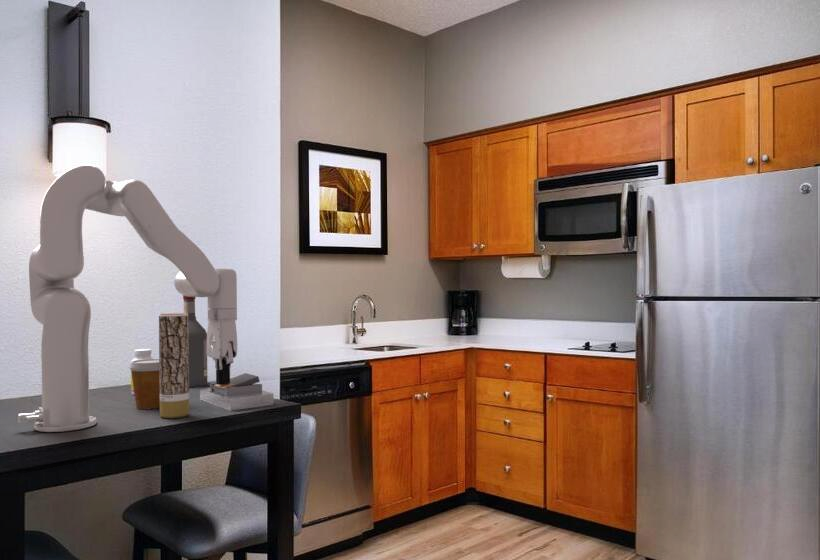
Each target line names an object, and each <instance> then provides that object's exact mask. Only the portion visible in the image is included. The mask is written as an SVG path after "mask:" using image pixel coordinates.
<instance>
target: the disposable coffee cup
mask: <svg viewBox="0 0 820 560" xmlns="http://www.w3.org/2000/svg"><path fill="white" fill-rule="evenodd" d="M131 361H132V360H131ZM131 361H130V365H129V370H130V374H131V373H132V381H133V387H134V394H135V395H134V401H135V407H136V409H138V410H151V408H153V409H157V408H158V407H159V408H160V385H159V358H153V359H144V360H135V361H132V362H131Z"/></svg>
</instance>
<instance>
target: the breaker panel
mask: <svg viewBox="0 0 820 560" xmlns="http://www.w3.org/2000/svg"><path fill="white" fill-rule="evenodd" d="M215 384H216V382H210V383H209V387H204V388H199V400H200V401H202V400H203V402H205V403H207V404H211V405H214V406H216V407H218V408H220V409H221V408H222V409H225V410H227V411H230V412H231V411H238V410H246V409H253V408H260V407H268V406H273V405H274V393H273V392H270V391H266V390H263V384H262V383H255V384H252V385H244V386H235V387H227V388H225V395H224V394H221V393H218V392H215V391H213V388H212V385H215Z"/></svg>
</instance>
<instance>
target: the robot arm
mask: <svg viewBox="0 0 820 560" xmlns="http://www.w3.org/2000/svg"><path fill="white" fill-rule="evenodd" d="M85 210H89V211H92V212H96V213H101V214H104V215H111V216H116V217H125V219H127V221H128V222H129V224H130V225H131V226H132V228H133V229H134V231H135V232H136V233H137V234H138V236H139V237H140V239H141V240H142V241H143V242H144V244H145V245H146V247H147V248H149V249H150V250H151V251H153V252H154V253H156V254H158V255H160V256H162V257H164V258H165V259H167V260H168V261H169V262H171V263H172V264H173V265H174V266H175V267H176V268H177V269H178V270H179V272H177V274H176V276H174V280H173V283H174V287H175V290H176V291H177V292H178V293H179V294H181V295H182V296H183V295H184V296H188V297H195V298H207V321H208V323H207V331H206V333H207V349H206V353H207V357H209V358H212V361H214V365H215V383H216V384H218V385H224V384H229V383H230V379H231V365H232V364H233V363H234V358H236V357H237V355H238V334H237V331H238V330H237V323H236V322H237V320H238V298H237V297H238V290H237V289H238V286H237V284H238V282H237V281H238V280H237V279H238V278H237V272H236V270H234V269H233V268H215V267H214V266H213V264H212V263H211V261H210V260H209V258H208V257H207V255H206V254H205V253H204V252H203V250H202V249H201V248H199V246H198V245H197V244H195V243H194V242H193V241H192V240H191V239H190V238H189V237H188V236H187V235H186V234H185V233H184V232H182V231H181V230H180V229H179V228H178V227H177V226H176V224H175V223H174V221H173V220H172V218H171V217H170V216H169V214H168V213H167V211H166V210H165V209H164V207H163V205H162V204H161V203H160V201H159V200H158V199H157V197H156V196H155V194H154V193H153V192H152V190H151V189H150V188H149V187H148V185H147V184H146V183H144V182H143V181H142V180H137V179H129V180H124V181H119V182H118V181H113V180H108V179H106V177H105V174H104V173H103V171H102V170H101V169H100V168H99V167H97V166H95V165H93V164H85V163H84V164H79V165H76V166H73V167H72V168H70V169H67V170H66V171H63V172H62V173H60V175H58V177H57V178H55V180H54V181H53V182H52V183H51V185H50V186H49V187H48V189H47V190H46V192H45V194H44V196H43V199H42V201H41V206H40V211H39V212H40V214H39V245H38V246H36V247H35V248H34V249H33V251H32V252H31V254H30V257H29V262H28V278H29V279H28V281H29V297H30V298H29V300H30V309H31V312H32V315H33V317H34V318H35V320H36V321H37V322H38V323H40V324H41V325H42V335H41V348H40V350H41V351H40V353H41V354H40V357H41V406H38V410H34V411H33V412H30V413H29V412H28V413H27V412H26V413H18V415H17V422H18V424H21V423H26V424H28V423H34V425H33V427H34V428H33V429H34V430H35V431H38V432H42V433H59V432H70V431H71V432H72V431H77V430H83V429H87V428H90V427H93V426H95V425H96V424H97V417H96V416H92V415H90V383H89V382H90V381H89V380H90V379H89V378H90V374H89V372H90V370H89V368H90V367H89V363H90V362H89V360H90V359H89V336H90V335H89V334H90V325H91V317H92V312H91V311H92V310H91V303H90V301H89V300H88V298H87V297H86V295H85V294H84V293H82V292H81V291H79V290H78V289H75V286H74V285H75V283H74V281H75V280H74V279H75V278H78V277H79V276H80V275H81V273H82V271H83V270H84V265H85V262H84V261H85V258H84V242H83V217H84V213H85Z"/></svg>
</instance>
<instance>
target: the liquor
mask: <svg viewBox="0 0 820 560" xmlns="http://www.w3.org/2000/svg"><path fill="white" fill-rule="evenodd" d="M182 299H183V313H187V314H188V322H189V389H190V388H197V387H204V386H206V385H207V384H208V355H207V353H206V349H207V331H206V329H205V328H204V327H203V325H202V324H201V323H200V322H199V321H198V320H197V317H196V297H188V296H184V295H182Z"/></svg>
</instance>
